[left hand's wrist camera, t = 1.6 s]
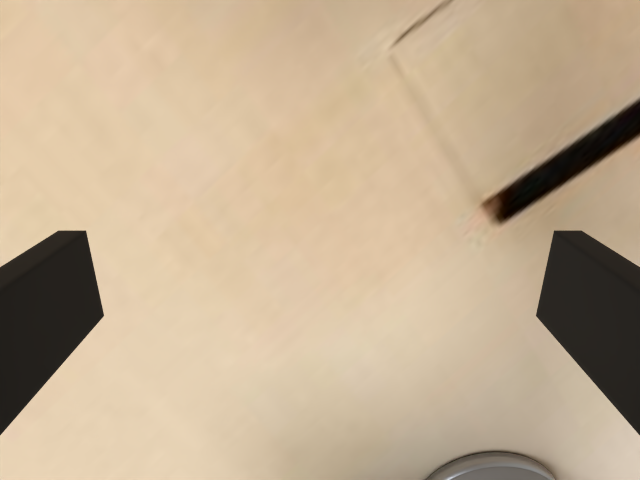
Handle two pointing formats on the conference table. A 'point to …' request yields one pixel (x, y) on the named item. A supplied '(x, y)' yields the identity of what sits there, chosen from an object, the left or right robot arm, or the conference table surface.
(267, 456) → the conference table surface
